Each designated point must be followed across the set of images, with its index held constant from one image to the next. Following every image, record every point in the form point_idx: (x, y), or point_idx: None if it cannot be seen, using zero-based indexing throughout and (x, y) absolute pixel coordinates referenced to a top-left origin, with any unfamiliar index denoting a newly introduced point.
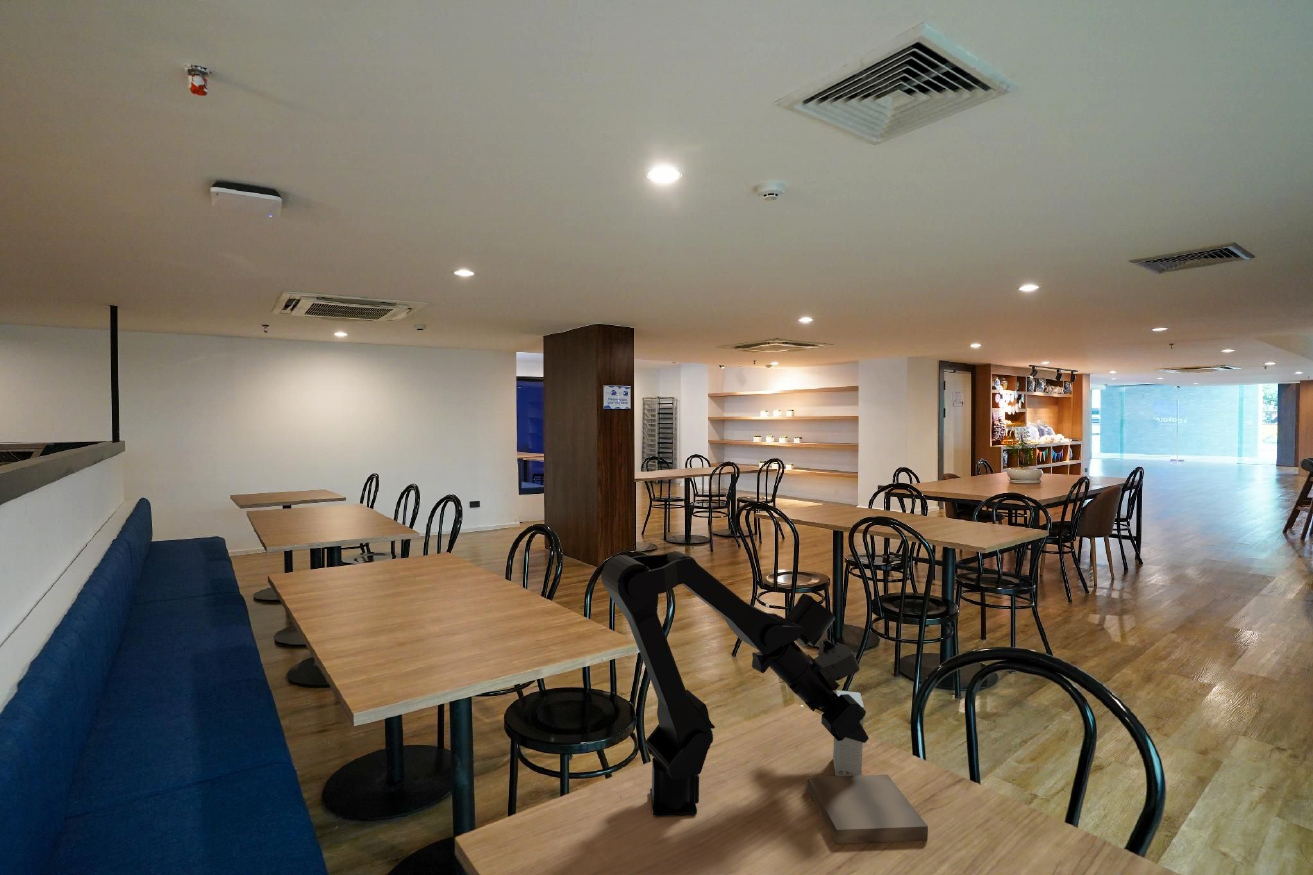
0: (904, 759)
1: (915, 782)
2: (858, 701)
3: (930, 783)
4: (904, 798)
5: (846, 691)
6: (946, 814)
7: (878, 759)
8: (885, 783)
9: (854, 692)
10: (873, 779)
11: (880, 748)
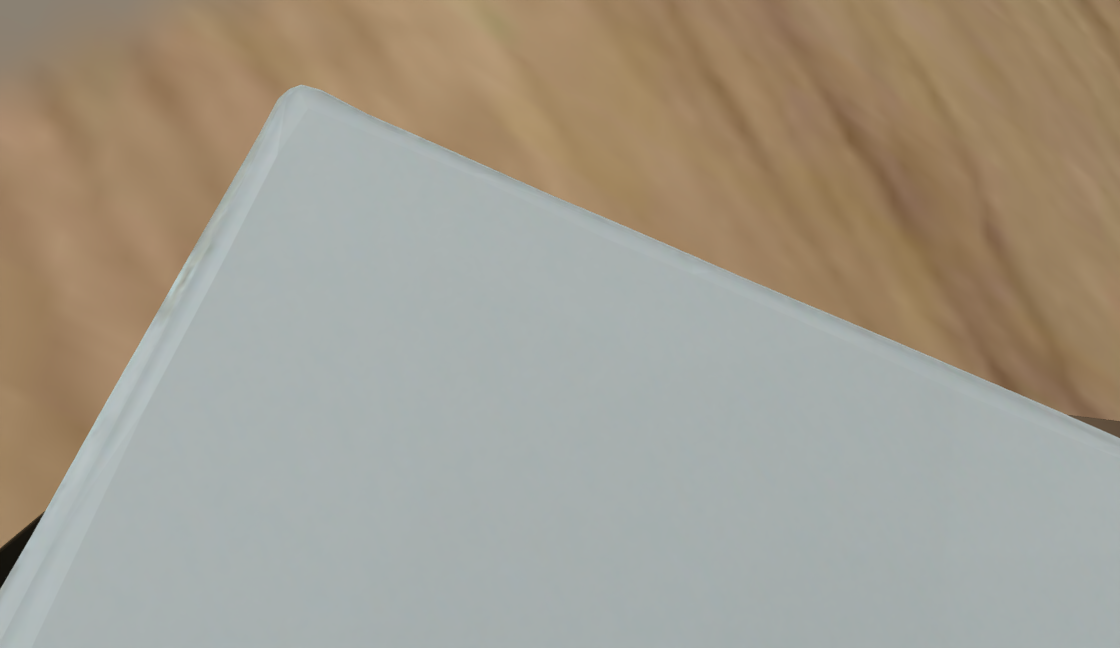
0: (353, 18)
1: (694, 148)
2: (998, 517)
3: (713, 52)
4: (1117, 436)
5: (61, 592)
6: (1046, 186)
7: None
8: None
9: (239, 277)
10: None
11: (109, 104)
